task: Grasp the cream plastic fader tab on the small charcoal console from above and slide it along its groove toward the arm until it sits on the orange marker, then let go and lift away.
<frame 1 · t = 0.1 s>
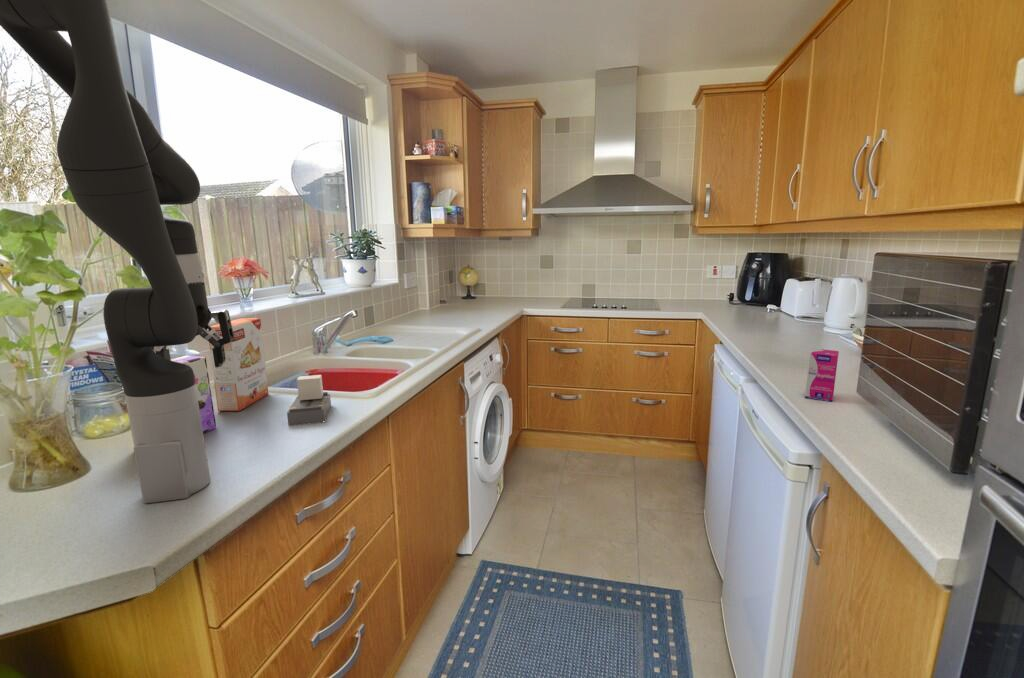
hand: (193, 367, 90), 17 cm above the worktop, tool pointing down, fingers open, 8 cm apart
cracker box: (245, 403, 124), on the worktop
candy box: (178, 439, 102), on the worktop
fader tab: (310, 387, 116), point 6 cm above the worktop, slide at 3.0 cm
fader console: (310, 415, 114), on the worktop
supplement box: (818, 397, 119), on the worktop
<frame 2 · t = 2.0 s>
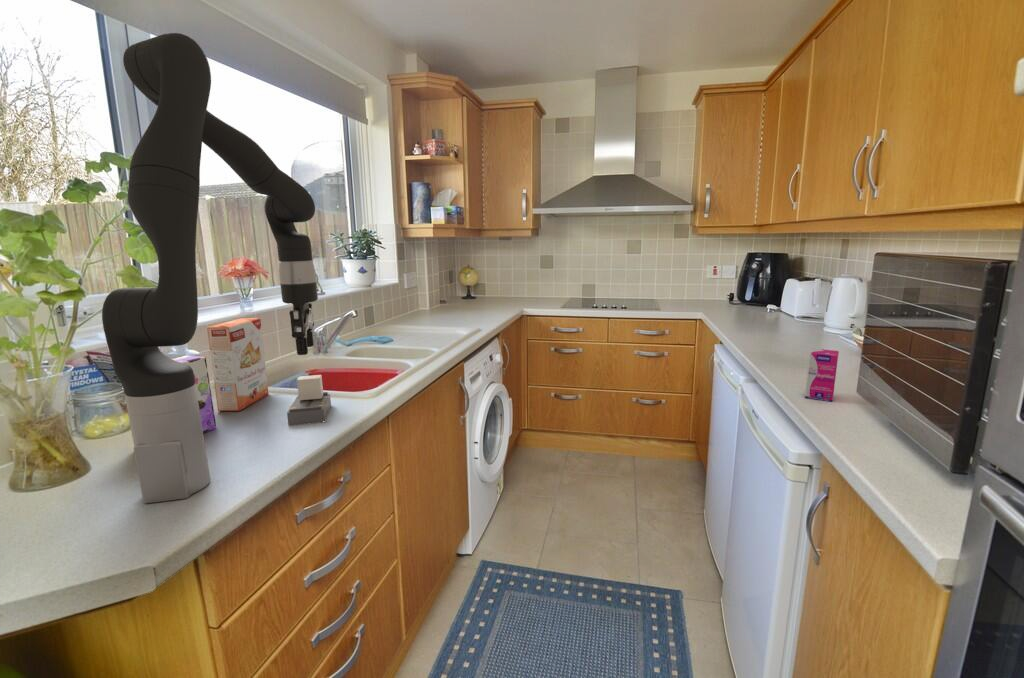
hand: (305, 350, 114), 15 cm above the worktop, tool pointing down, fingers open, 8 cm apart
nothing on the worktop moved.
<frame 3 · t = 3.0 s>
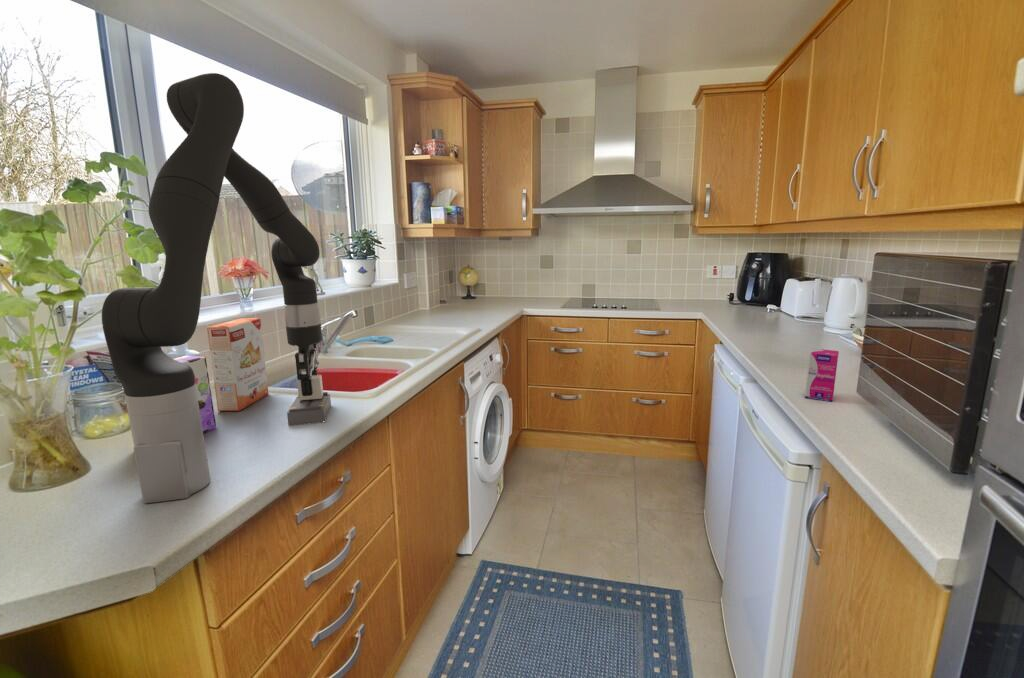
hand: (310, 390, 116), 5 cm above the worktop, tool pointing down, fingers open, 8 cm apart
nothing on the worktop moved.
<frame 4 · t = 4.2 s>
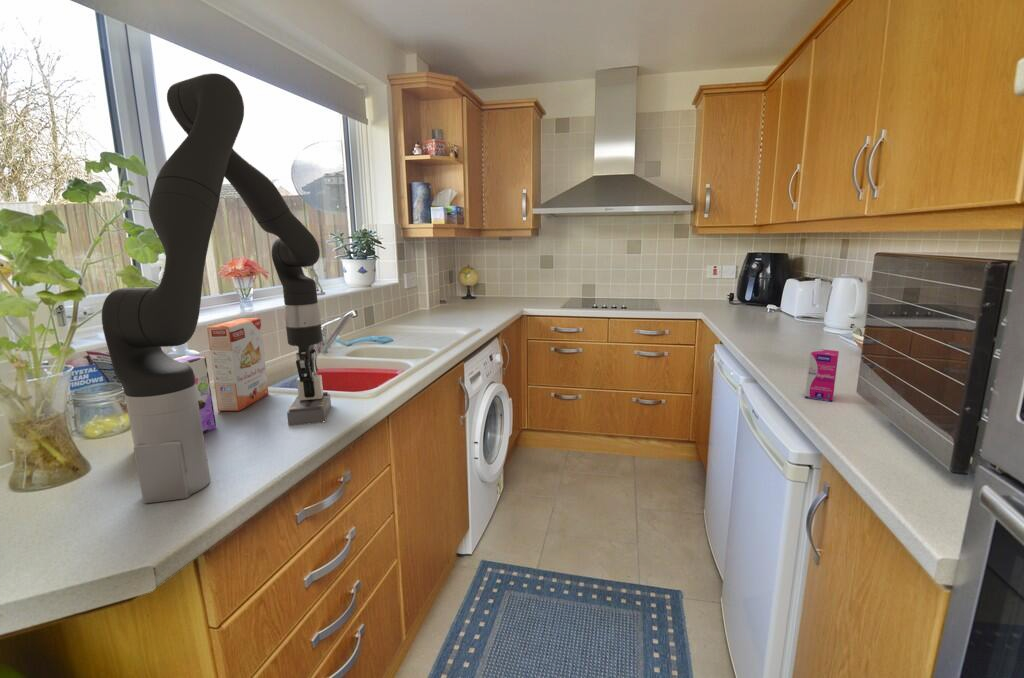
hand: (311, 394, 116), 4 cm above the worktop, tool pointing down, fingers closed on fader tab, 3 cm apart
fader tab: (310, 387, 116), point 6 cm above the worktop, slide at 3.0 cm, touching gripper
everything else where it was.
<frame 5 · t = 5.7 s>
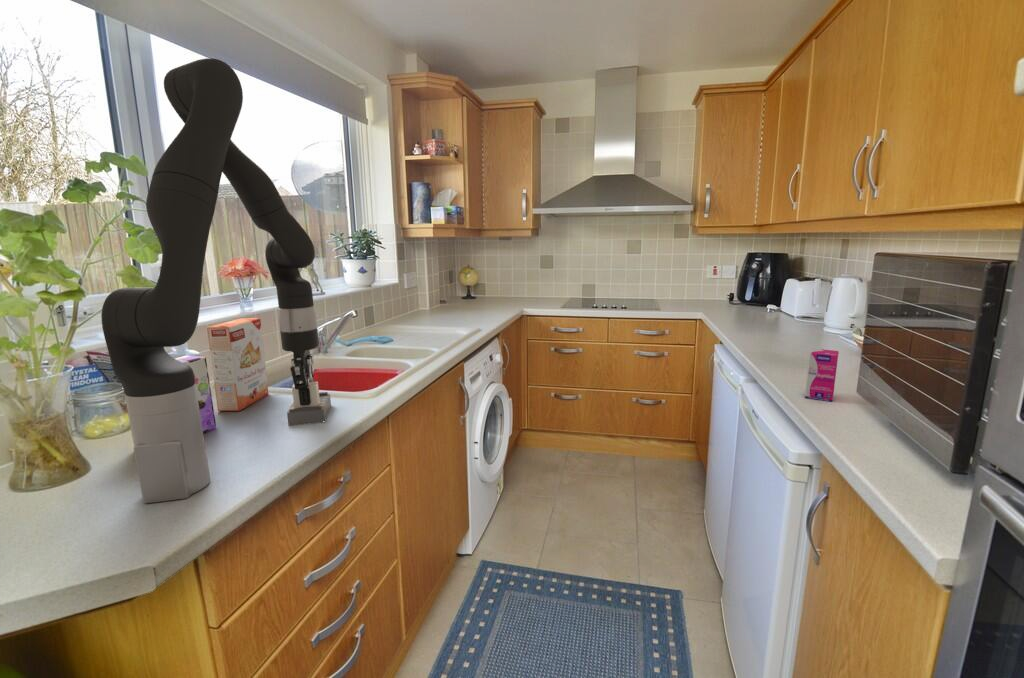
hand: (307, 401, 110), 4 cm above the worktop, tool pointing down, fingers closed on fader tab, 3 cm apart
fader tab: (306, 394, 110), point 6 cm above the worktop, slide at -2.9 cm, touching gripper
everything else where it was.
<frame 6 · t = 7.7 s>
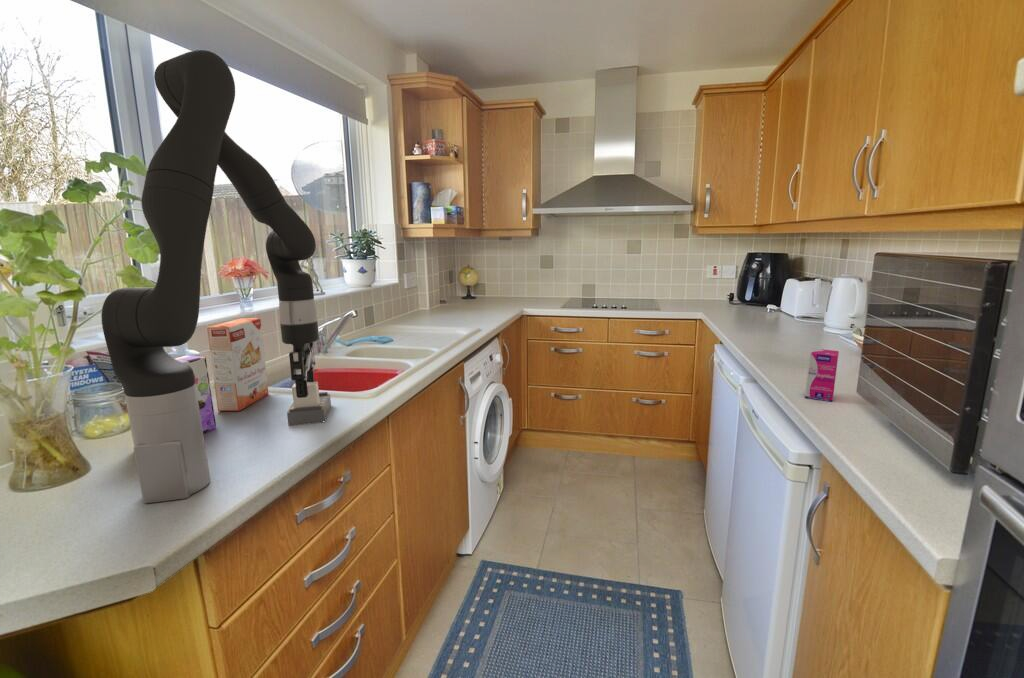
hand: (306, 391, 110), 7 cm above the worktop, tool pointing down, fingers open, 8 cm apart
fader tab: (306, 394, 110), point 6 cm above the worktop, slide at -3.0 cm
everything else where it was.
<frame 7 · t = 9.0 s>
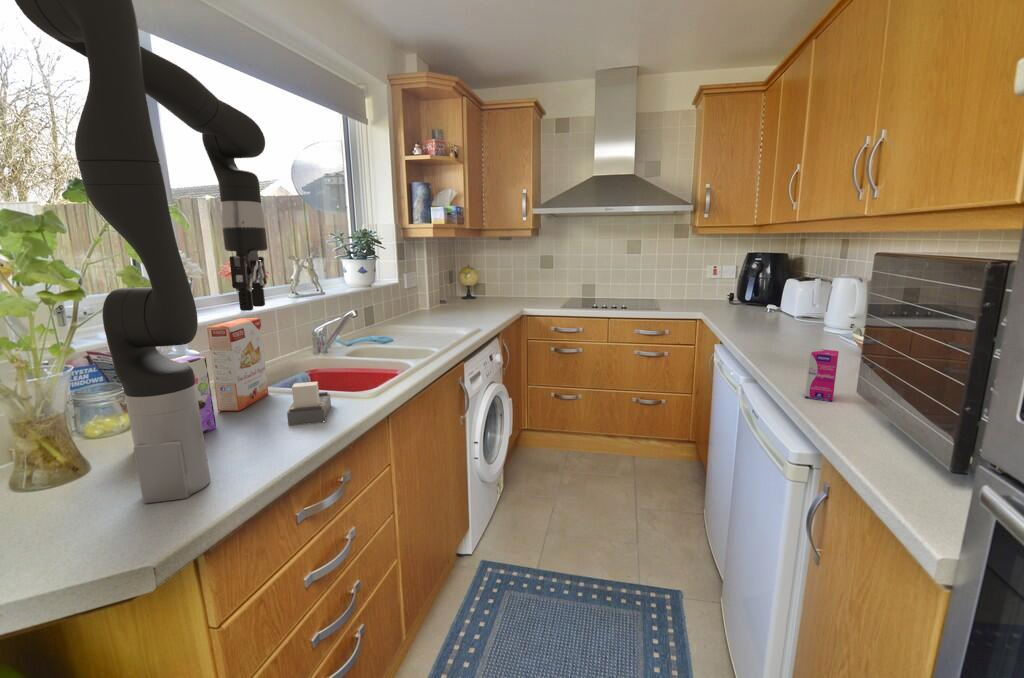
hand: (253, 308, 99), 27 cm above the worktop, tool pointing down, fingers open, 8 cm apart
nothing on the worktop moved.
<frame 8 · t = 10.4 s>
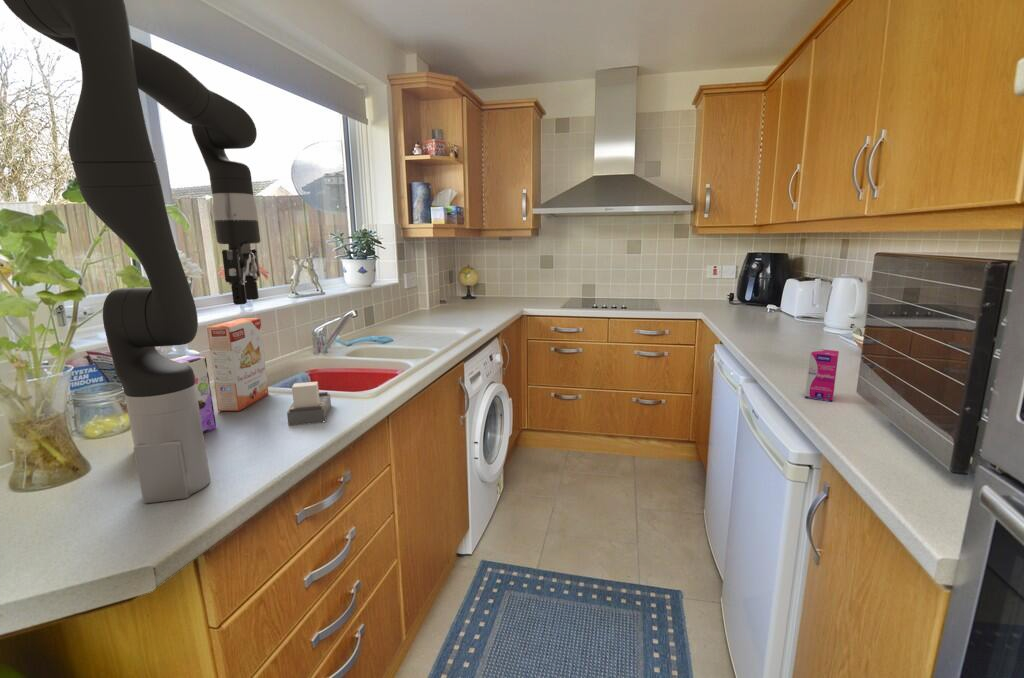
hand: (247, 301, 98), 28 cm above the worktop, tool pointing down, fingers open, 8 cm apart
nothing on the worktop moved.
at the end: fader tab slide at -3.0 cm; the gripper is holding nothing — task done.
